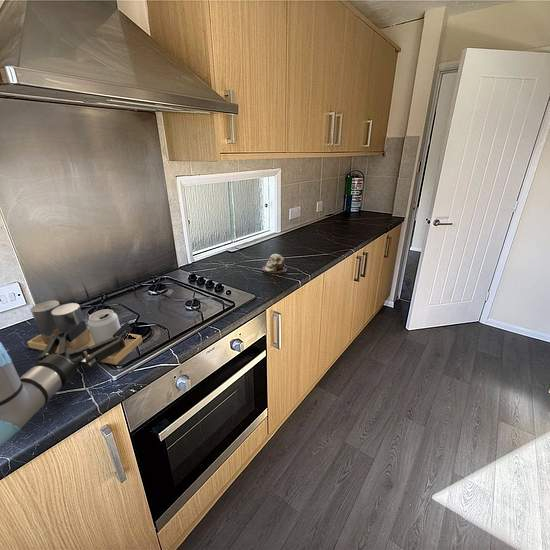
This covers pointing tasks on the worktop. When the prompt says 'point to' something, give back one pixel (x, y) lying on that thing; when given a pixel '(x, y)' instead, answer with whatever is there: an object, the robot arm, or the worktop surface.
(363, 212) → the worktop surface
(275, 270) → the skull
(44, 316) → the silver can
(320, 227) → the worktop surface
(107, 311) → the can
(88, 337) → the silver can
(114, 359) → the tray
